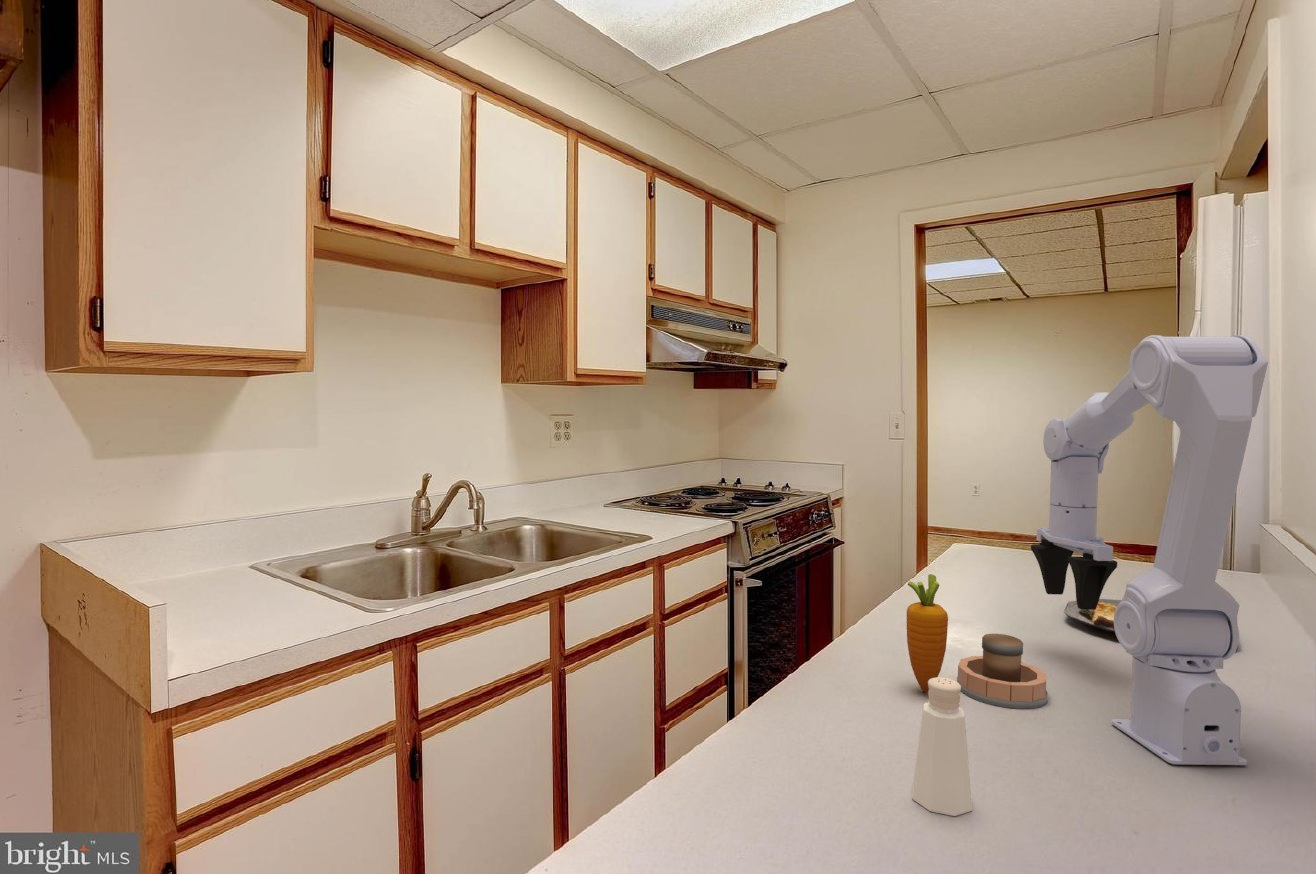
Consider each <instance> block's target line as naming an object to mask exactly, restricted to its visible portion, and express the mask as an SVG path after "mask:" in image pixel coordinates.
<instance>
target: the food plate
mask: <svg viewBox="0 0 1316 874" xmlns="http://www.w3.org/2000/svg"><path fill="white" fill-rule="evenodd" d="M1121 600H1122V599H1111V598H1099V601H1098V604H1097V607H1096V609H1095V610H1086V609H1079V608H1078V606H1077V601H1076V600H1068V602H1067V603H1066V606H1065V607H1064V611H1063V613H1064V614H1065V616H1066V617H1068V618H1069V619H1071V620H1074V621H1077V622H1079V623H1081V624H1084V625H1087V626H1090V627H1093V628H1098V629H1101V630H1104V631H1106V632H1112V633H1115V629H1114V613H1115V610H1116V608H1117V606H1118V604H1119V603H1120V601H1121Z"/></svg>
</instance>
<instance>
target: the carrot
mask: <svg viewBox="0 0 1316 874" xmlns="http://www.w3.org/2000/svg"><path fill="white" fill-rule="evenodd" d="M927 577H928V578H927V580H928V581H927V585H928V588H926V589H925V586H924V584H923V582H922V581H917V582H916V583H917V584H916V583H915V582H913V581H911V580H910V581H908V583H907V585H908V587H910V588H911V589H913V591H914V592H915V594H916V595H917V597H918V599H919V601H917V602H914V603H912V604H909V605H908V606H907V609H906V641H907V642H906V643H907V644H906V645H907V649H908V650H907V651H908V656H909V661H910V662H909V663H910V666H911V669H912V672H913V675H914V677H915V679H916V681H917V684H918V686H919V688H920V689H921V690H922V692H923V693H929V687H928V681H929V680H930V679H931V678H936V677H939V675H940V673H941V670H942V667H943V663H944V659H945V655H946V650H947V640H948V639H947V638H948V628H949V627H948V626H949V615H948V612H947V611H946V610H945V609H944V608H943V607H942V606H941V605H940V604H938V603H934V601H935V596H936V593H937V591H938V589H939V587H940V583H939V582H938V581H937V576H936V574H934V573H930V574H928V575H927Z"/></svg>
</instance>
